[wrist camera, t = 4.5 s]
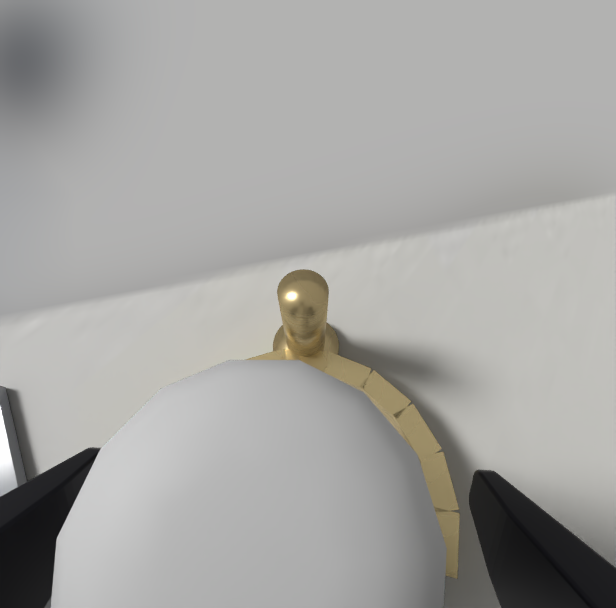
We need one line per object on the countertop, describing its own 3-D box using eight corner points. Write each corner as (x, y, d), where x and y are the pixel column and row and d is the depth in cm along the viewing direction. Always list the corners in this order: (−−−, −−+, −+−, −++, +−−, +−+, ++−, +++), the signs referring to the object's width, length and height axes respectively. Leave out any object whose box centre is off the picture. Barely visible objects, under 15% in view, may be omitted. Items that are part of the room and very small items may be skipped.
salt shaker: (221, 441, 16) (-23, 322, 4) (346, 414, 16) (424, 241, 5) (237, 605, 13) (-278, 1404, 2) (384, 566, 14) (760, 996, 2)
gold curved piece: (451, 570, 14) (540, 623, 8) (141, 548, 14) (35, 586, 9) (425, 325, 18) (472, 259, 13) (192, 315, 19) (144, 247, 13)
